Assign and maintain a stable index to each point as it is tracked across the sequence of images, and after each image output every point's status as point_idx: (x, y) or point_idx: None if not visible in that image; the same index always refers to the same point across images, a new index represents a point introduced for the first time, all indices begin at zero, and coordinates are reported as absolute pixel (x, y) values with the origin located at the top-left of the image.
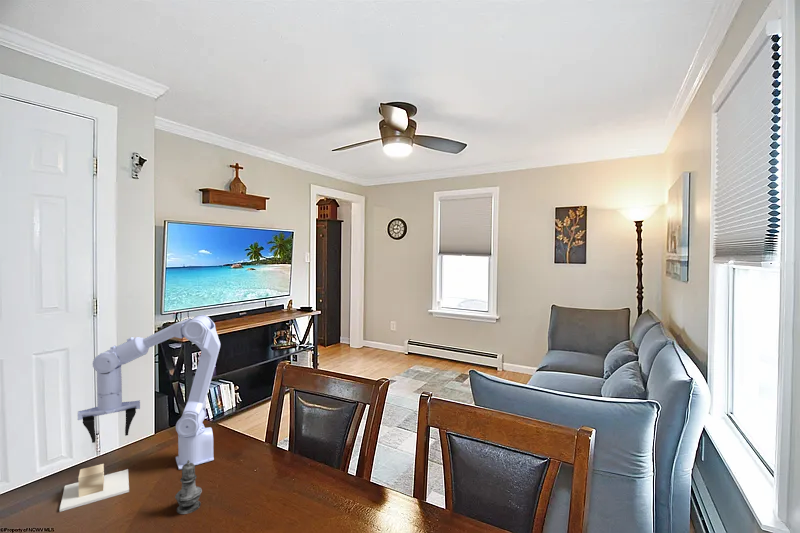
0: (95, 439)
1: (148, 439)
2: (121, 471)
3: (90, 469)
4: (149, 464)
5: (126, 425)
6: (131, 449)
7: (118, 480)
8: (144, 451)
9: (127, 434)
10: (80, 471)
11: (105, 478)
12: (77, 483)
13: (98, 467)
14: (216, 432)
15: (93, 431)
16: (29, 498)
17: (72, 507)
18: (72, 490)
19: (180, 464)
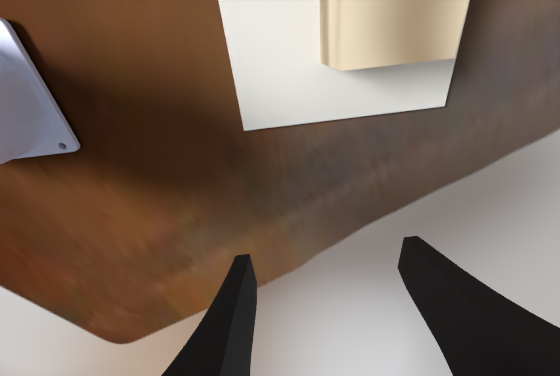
0: (402, 263)
1: None
2: (265, 122)
3: (409, 20)
4: (177, 147)
5: (228, 316)
6: (260, 265)
7: (265, 38)
8: (220, 242)
9: (237, 258)
10: (460, 21)
11: (316, 90)
12: (406, 101)
13: (367, 26)
14: (16, 273)
15: (472, 298)
16: (542, 81)
17: None
18: None
19: (16, 63)
